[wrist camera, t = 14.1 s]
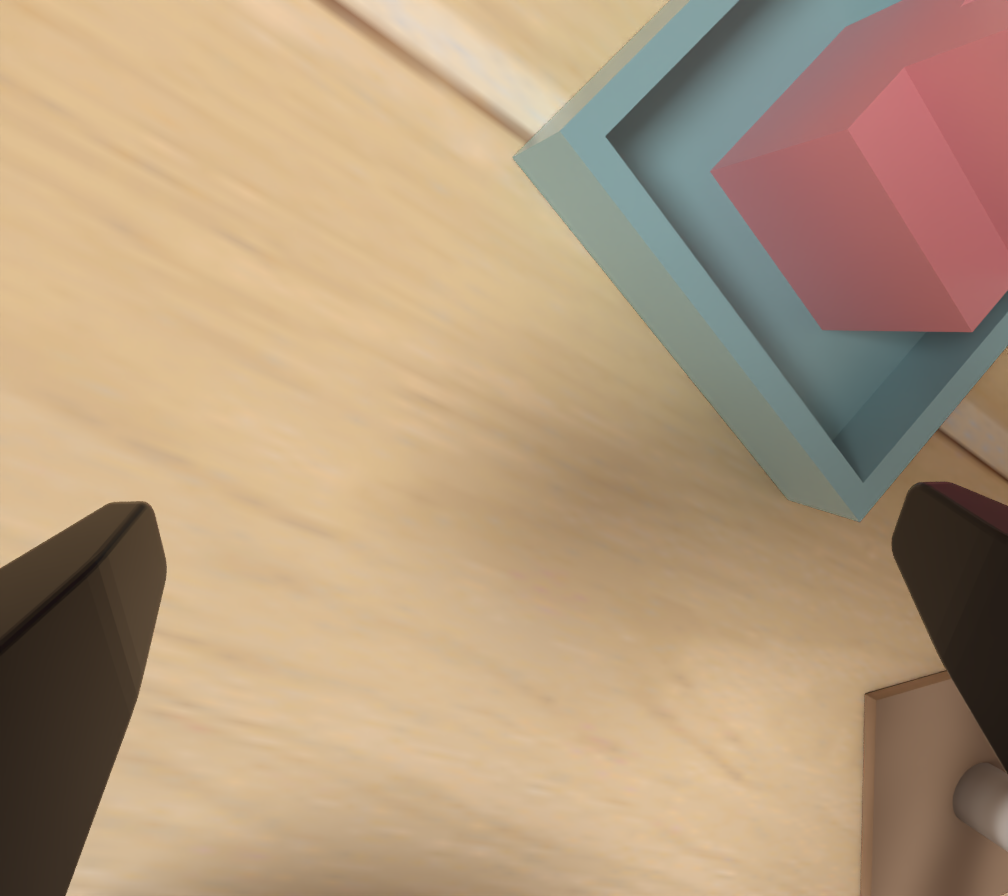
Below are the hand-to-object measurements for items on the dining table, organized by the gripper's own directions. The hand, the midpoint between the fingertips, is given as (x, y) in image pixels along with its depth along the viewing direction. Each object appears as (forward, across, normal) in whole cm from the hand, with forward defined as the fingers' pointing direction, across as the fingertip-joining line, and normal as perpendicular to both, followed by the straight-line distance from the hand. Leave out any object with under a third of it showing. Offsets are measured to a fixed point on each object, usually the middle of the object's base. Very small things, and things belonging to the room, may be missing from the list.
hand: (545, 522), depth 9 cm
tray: (+16, -10, -1) cm, 19 cm away
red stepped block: (+15, -10, -1) cm, 18 cm away
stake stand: (+10, -19, +20) cm, 29 cm away
